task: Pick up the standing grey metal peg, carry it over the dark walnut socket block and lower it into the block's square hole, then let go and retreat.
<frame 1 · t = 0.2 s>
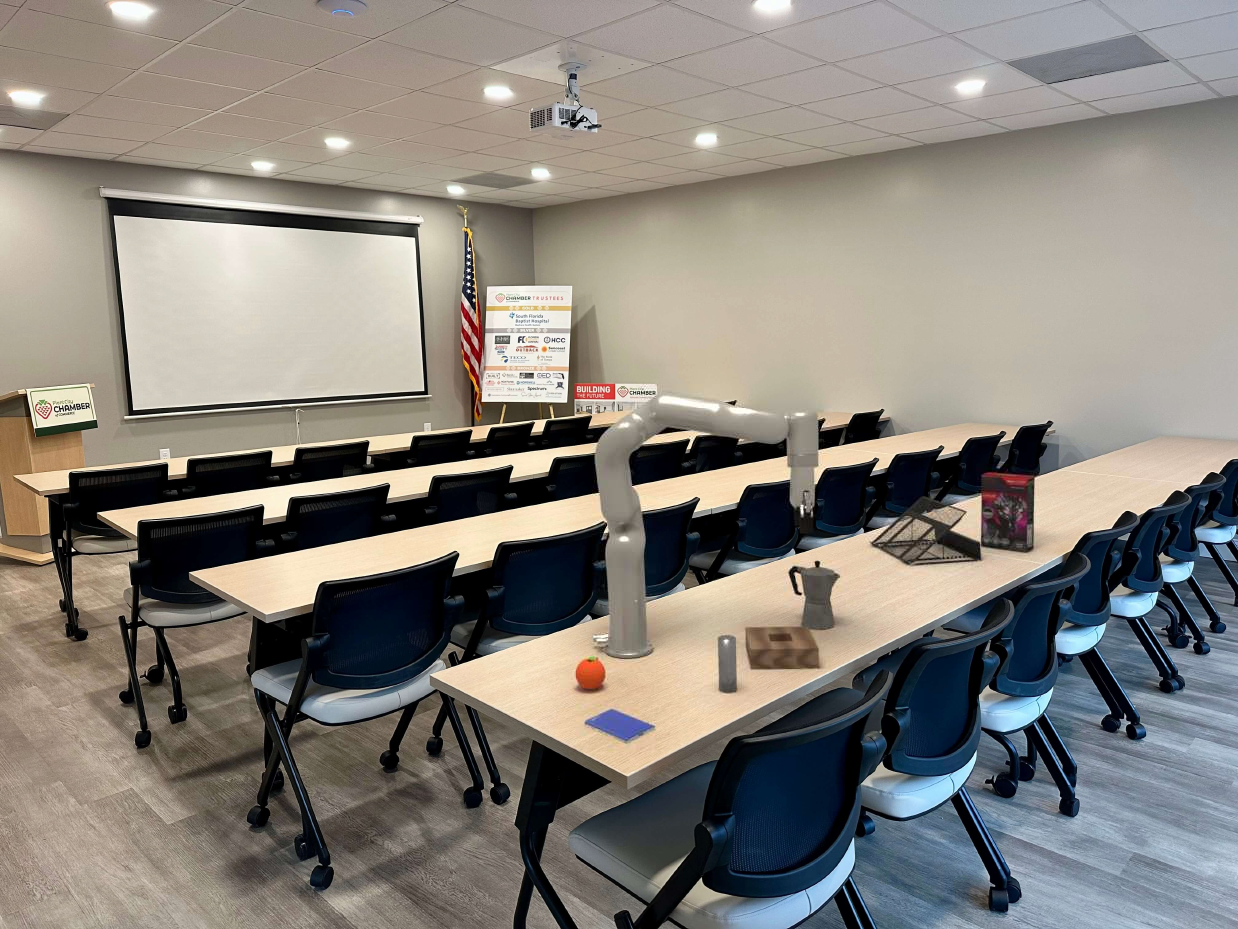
hand: (803, 528, 207), 31 cm above the table, tool pointing down, fingers open, 9 cm apart
socket block: (780, 657, 206), on the table
clementine: (592, 688, 192), on the table
portable electronic device stand: (923, 554, 304), on the table
graphics card box: (1006, 548, 305), on the table
peg: (728, 689, 187), on the table
hard drive: (619, 731, 171), on the table
coffeepot: (814, 624, 230), on the table
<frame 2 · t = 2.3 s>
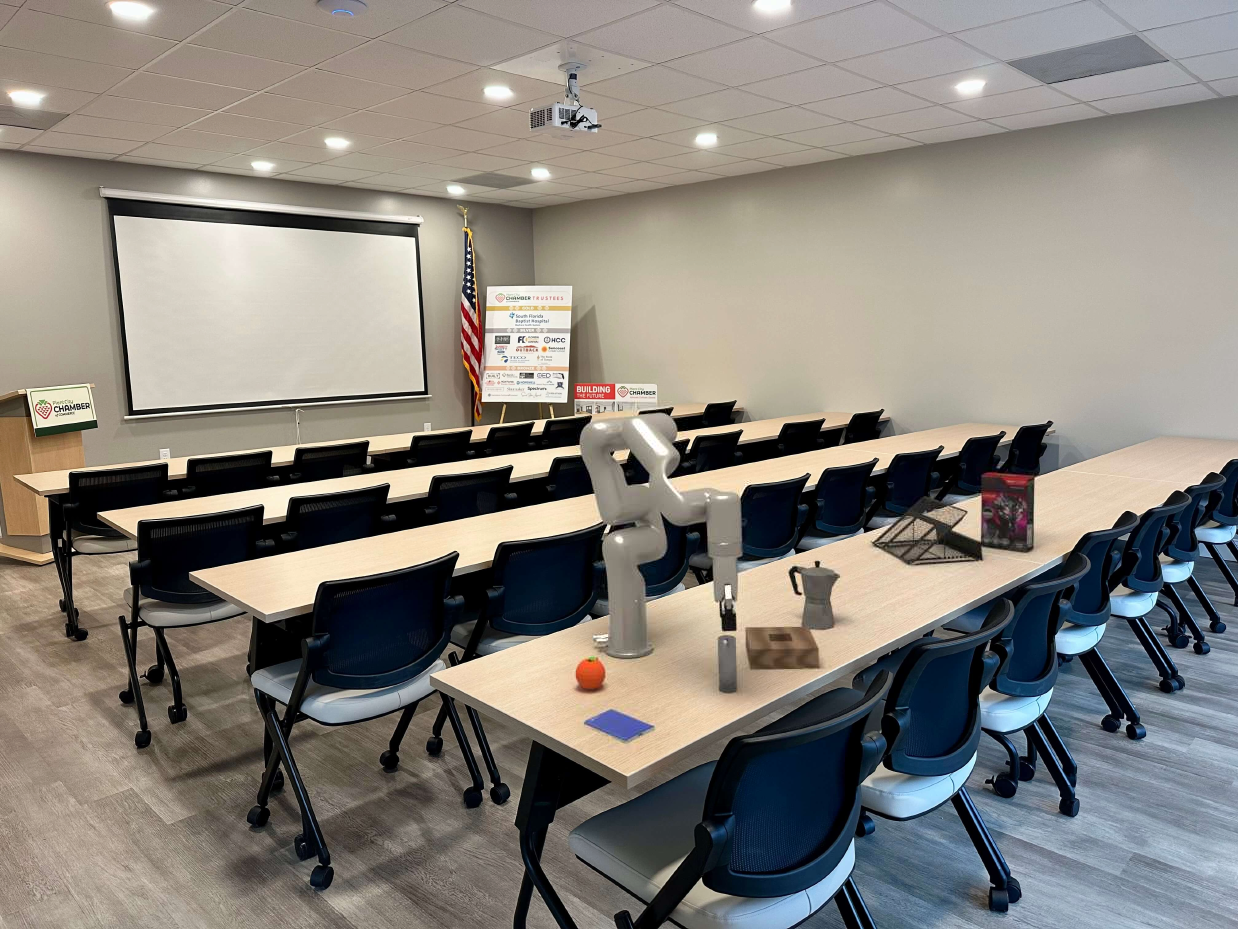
hand: (728, 623, 185), 15 cm above the table, tool pointing down, fingers open, 9 cm apart
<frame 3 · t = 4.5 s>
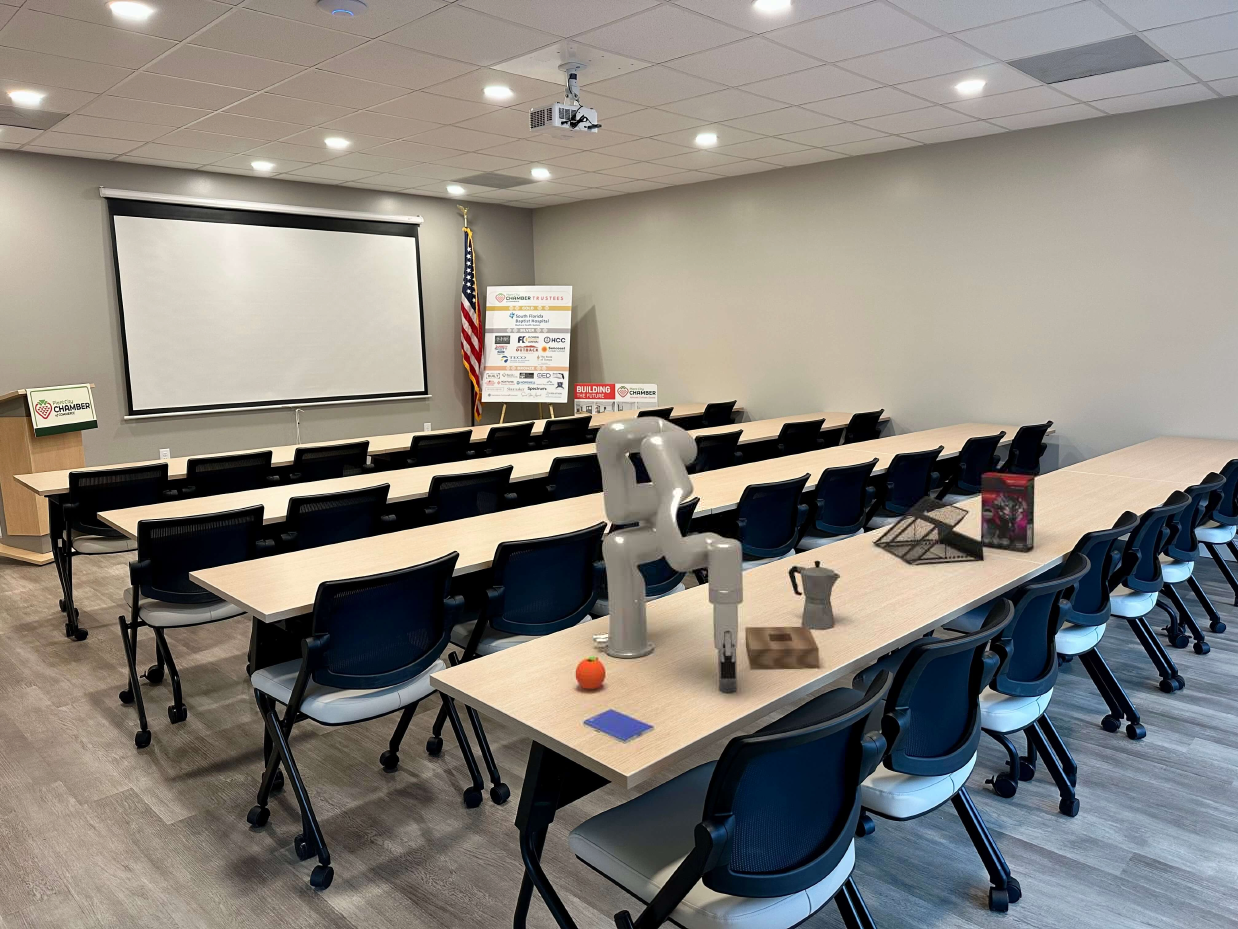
hand: (727, 673, 187), 4 cm above the table, tool pointing down, fingers closed on peg, 4 cm apart
peg: (728, 689, 187), on the table, touching gripper
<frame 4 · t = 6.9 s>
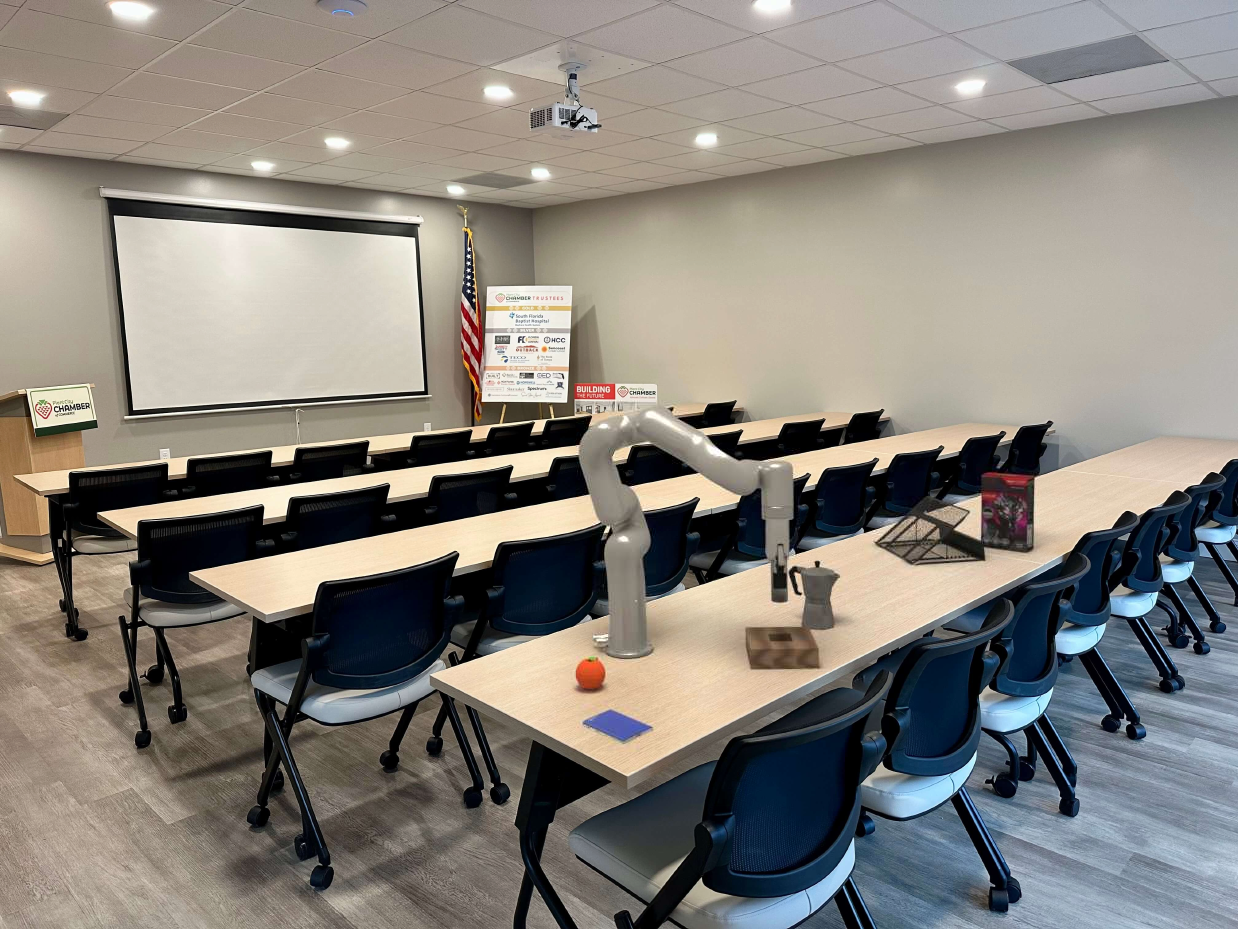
hand: (778, 585, 203), 18 cm above the table, tool pointing down, fingers closed on peg, 4 cm apart
peg: (779, 600, 204), point 15 cm above the table, touching gripper
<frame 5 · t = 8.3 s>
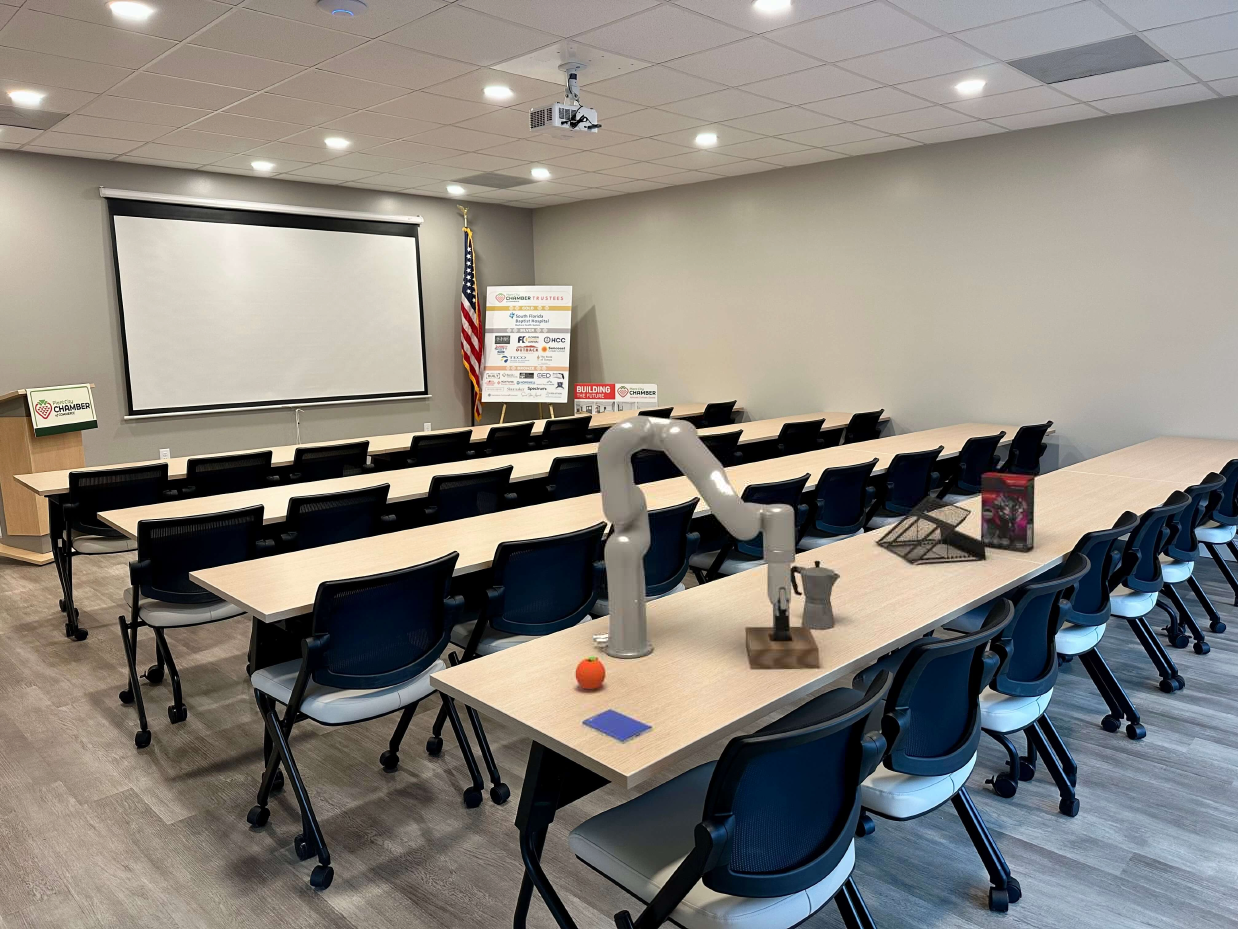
hand: (781, 627, 205), 8 cm above the table, tool pointing down, fingers closed on peg, 4 cm apart
peg: (781, 642, 206), point 4 cm above the table, touching gripper
when the fingers open (6 cm above the table, at t = 9.6 s): peg drops 2 cm, resting in socket block.
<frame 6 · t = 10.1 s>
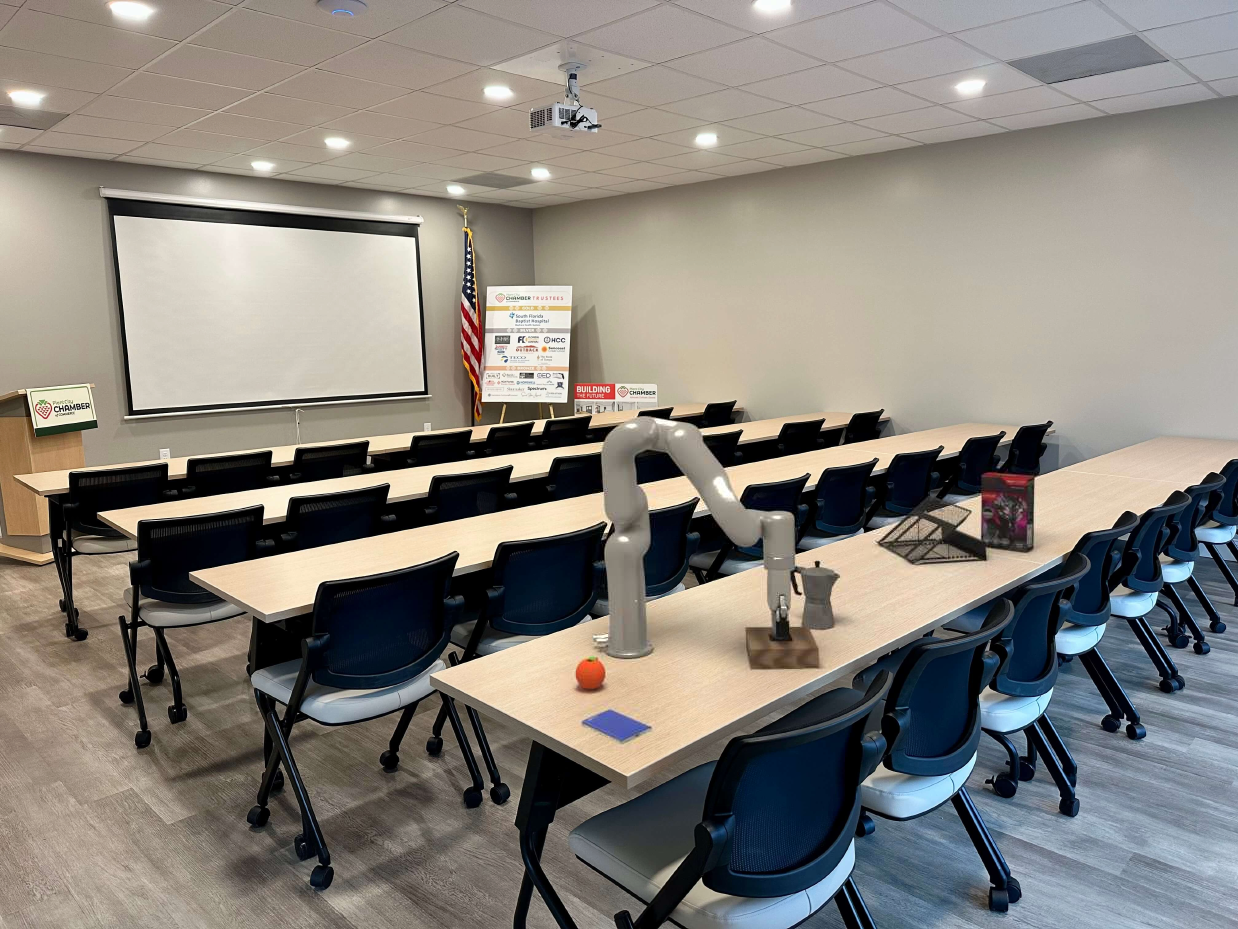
hand: (780, 630, 205), 7 cm above the table, tool pointing down, fingers open, 9 cm apart
peg: (780, 657, 206), resting in socket block
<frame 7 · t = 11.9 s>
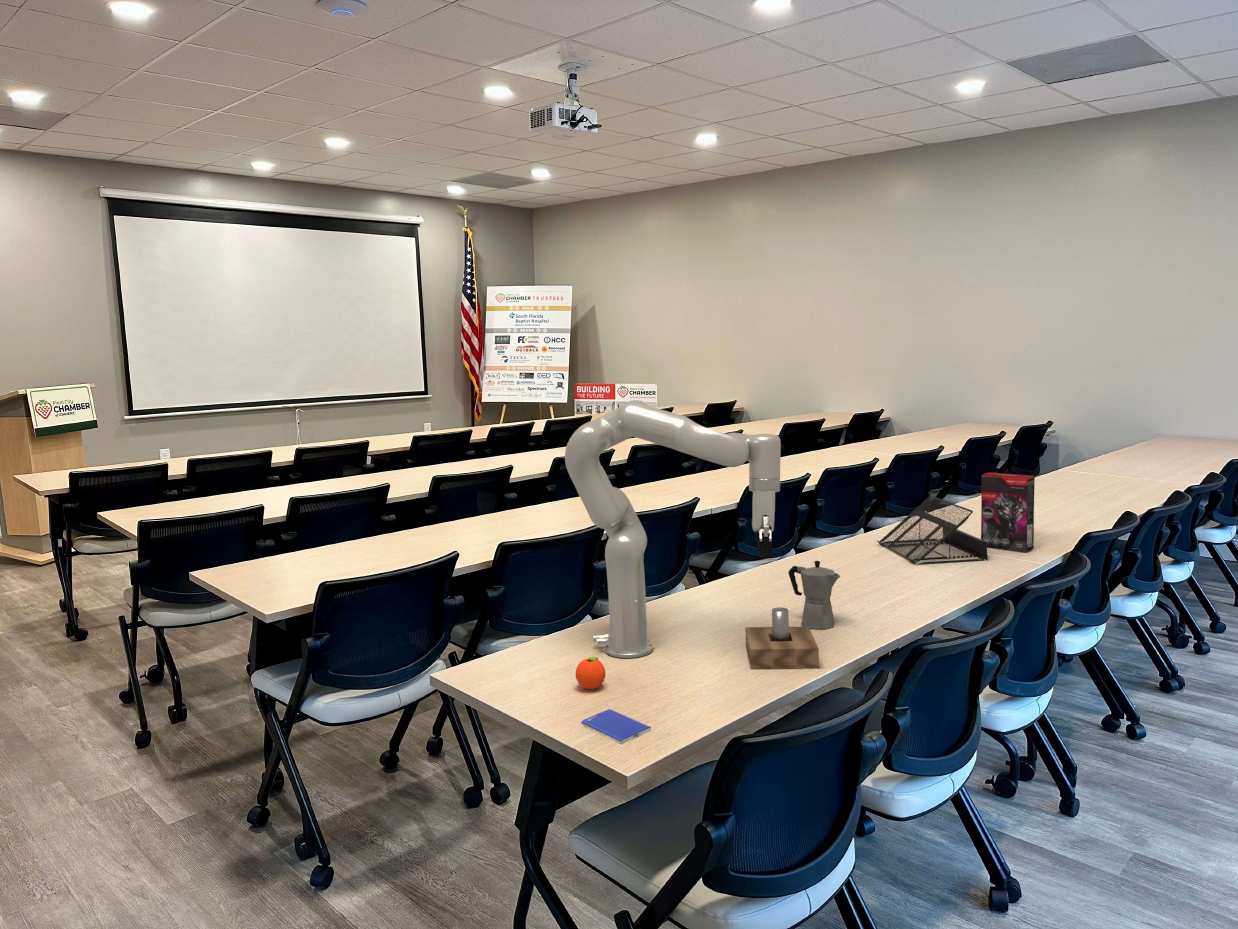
hand: (763, 552, 207), 26 cm above the table, tool pointing down, fingers open, 9 cm apart
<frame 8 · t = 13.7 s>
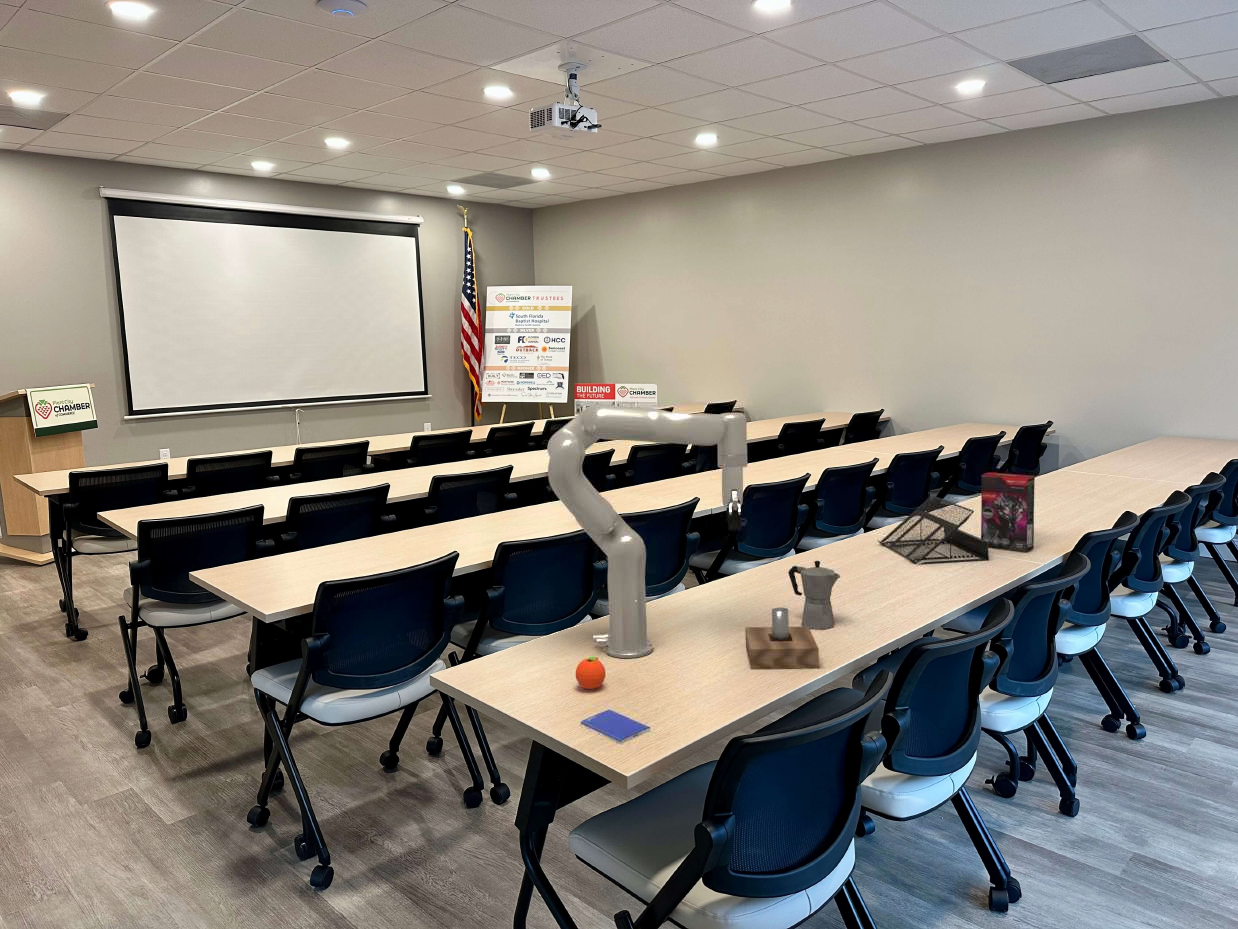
hand: (733, 526, 217), 30 cm above the table, tool pointing down, fingers open, 9 cm apart
at the end: peg 0.0 cm off-centre on the socket block, point 0.0 cm above the socket block's base; peg tilted 0°; the gripper is holding nothing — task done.
